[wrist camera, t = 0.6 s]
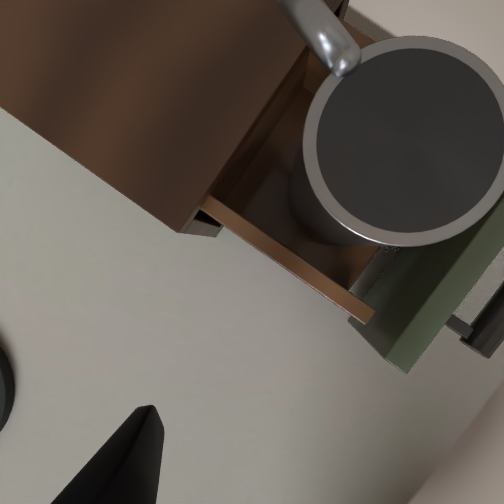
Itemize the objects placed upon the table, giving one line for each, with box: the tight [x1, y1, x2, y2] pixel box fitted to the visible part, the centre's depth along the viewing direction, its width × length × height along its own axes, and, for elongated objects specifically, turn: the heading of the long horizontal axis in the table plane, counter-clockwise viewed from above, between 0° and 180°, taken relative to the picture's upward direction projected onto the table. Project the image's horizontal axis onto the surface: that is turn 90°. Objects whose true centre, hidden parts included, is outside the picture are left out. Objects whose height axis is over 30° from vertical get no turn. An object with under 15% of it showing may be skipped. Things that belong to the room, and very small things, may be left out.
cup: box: [275, 0, 504, 247], centre depth 14 cm, size 9×6×10 cm
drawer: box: [200, 15, 504, 374], centre depth 17 cm, size 16×11×7 cm
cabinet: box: [0, 0, 349, 237], centre depth 17 cm, size 14×13×9 cm
